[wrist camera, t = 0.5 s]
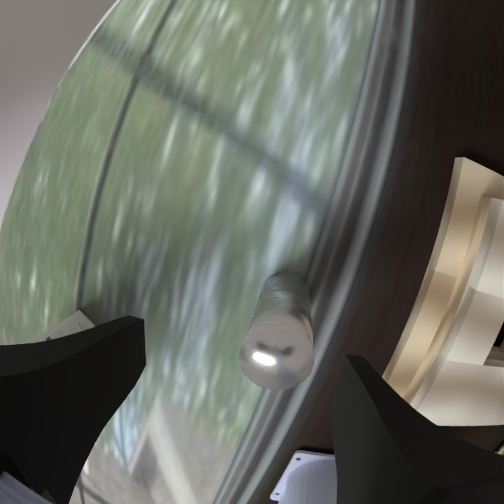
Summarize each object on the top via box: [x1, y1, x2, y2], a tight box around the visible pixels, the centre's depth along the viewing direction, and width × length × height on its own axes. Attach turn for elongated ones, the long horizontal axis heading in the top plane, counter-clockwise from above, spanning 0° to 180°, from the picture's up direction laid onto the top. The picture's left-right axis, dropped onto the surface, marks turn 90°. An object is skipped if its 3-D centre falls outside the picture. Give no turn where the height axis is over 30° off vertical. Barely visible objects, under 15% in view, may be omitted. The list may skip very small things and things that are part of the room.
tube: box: [239, 273, 314, 390], centre depth 17 cm, size 3×3×8 cm
